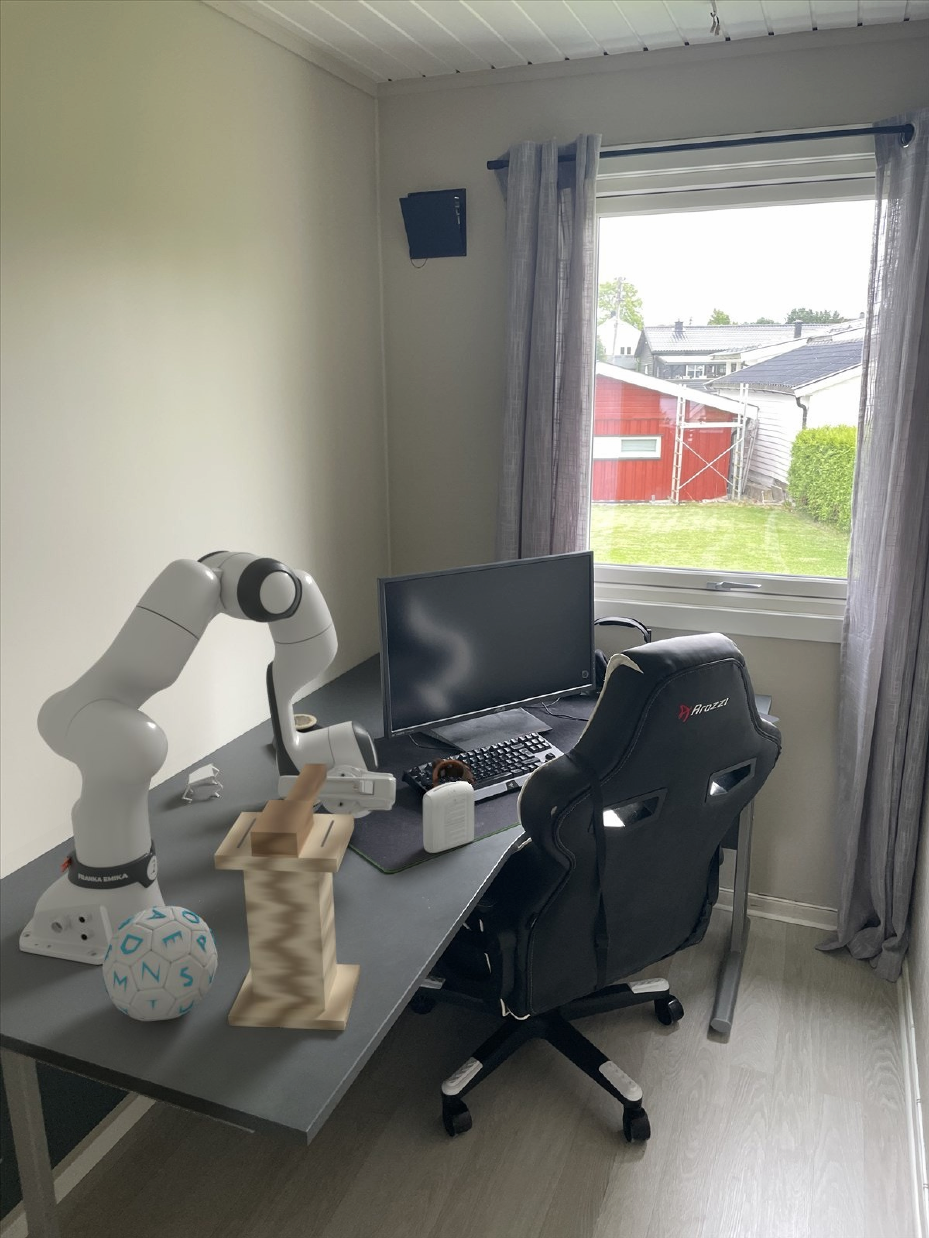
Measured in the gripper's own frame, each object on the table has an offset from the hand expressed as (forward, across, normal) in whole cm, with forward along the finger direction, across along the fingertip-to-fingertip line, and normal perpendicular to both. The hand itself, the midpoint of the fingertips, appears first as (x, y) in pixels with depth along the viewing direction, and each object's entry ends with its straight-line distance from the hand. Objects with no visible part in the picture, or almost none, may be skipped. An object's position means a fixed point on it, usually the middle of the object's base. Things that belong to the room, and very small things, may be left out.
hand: (329, 784), depth 149 cm
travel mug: (-40, -14, +1) cm, 43 cm away
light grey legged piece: (-43, -35, -1) cm, 56 cm away
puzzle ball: (+15, -18, +33) cm, 40 cm away
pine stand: (+12, 0, +31) cm, 33 cm away
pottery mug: (-46, +16, -2) cm, 49 cm away
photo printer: (-27, +18, +9) cm, 33 cm away
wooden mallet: (+20, 0, +6) cm, 21 cm away
